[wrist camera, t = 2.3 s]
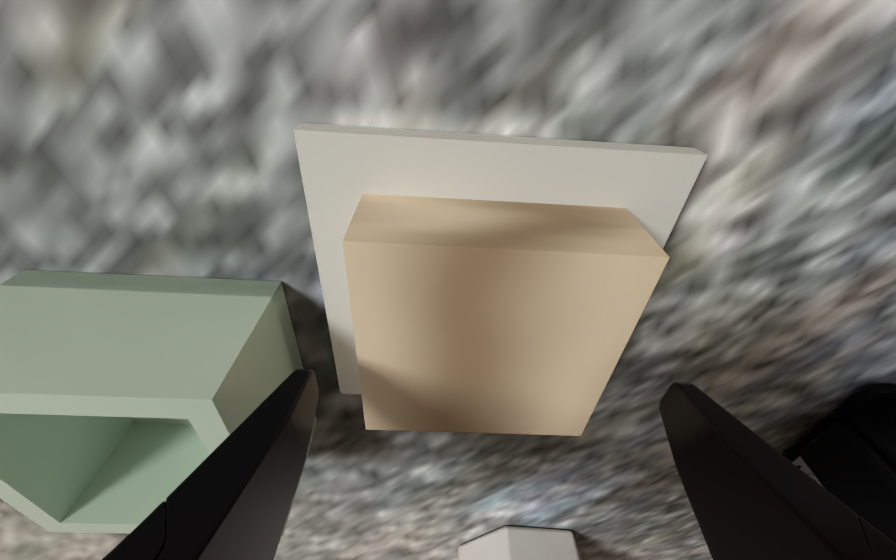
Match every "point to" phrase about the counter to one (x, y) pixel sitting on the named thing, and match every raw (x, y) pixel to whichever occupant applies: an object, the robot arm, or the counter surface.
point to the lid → (492, 310)
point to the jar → (522, 545)
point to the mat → (471, 189)
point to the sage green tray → (127, 387)
